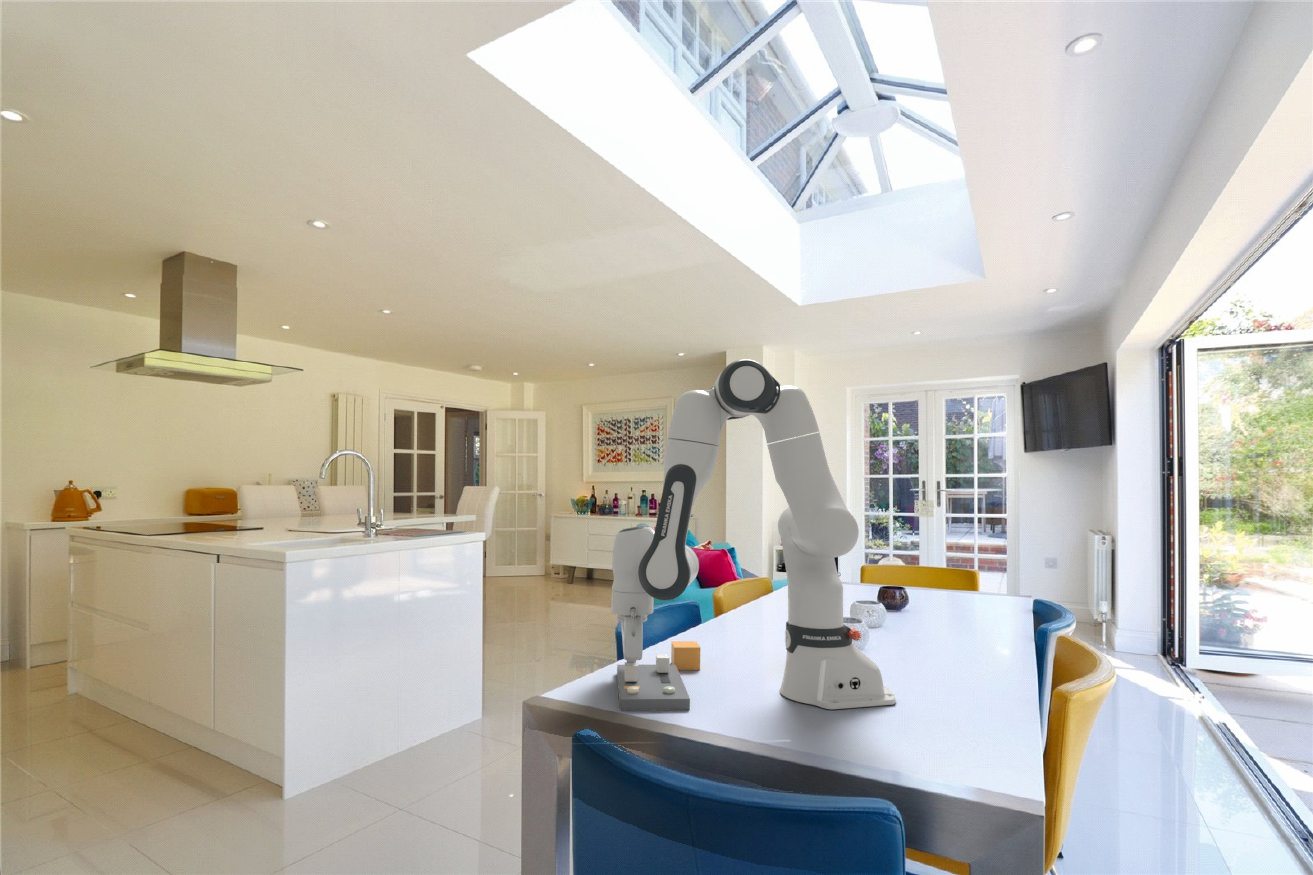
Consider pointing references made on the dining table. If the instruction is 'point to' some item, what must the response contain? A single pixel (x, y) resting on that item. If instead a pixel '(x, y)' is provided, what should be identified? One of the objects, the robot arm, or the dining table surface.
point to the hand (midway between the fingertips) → (631, 671)
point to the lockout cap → (685, 655)
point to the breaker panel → (652, 690)
